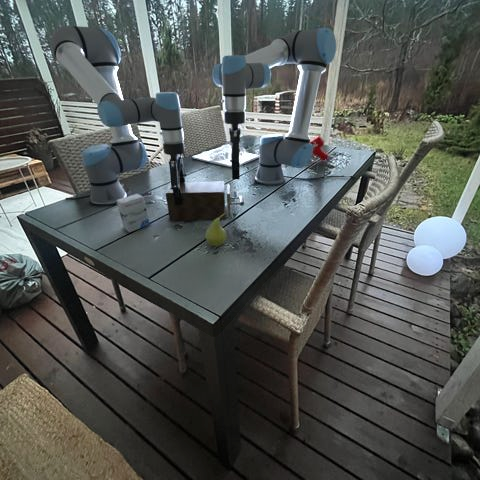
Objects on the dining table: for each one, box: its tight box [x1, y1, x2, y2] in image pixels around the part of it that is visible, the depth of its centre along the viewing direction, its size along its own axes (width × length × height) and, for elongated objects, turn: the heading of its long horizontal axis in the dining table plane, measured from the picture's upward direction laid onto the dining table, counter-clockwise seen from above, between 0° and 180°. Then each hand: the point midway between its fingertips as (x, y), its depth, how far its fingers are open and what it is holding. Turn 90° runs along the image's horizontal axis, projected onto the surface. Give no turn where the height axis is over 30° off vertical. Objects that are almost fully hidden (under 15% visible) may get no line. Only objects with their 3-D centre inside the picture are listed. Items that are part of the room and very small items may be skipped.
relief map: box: [192, 143, 259, 168], centre depth 179 cm, size 27×35×5 cm
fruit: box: [204, 210, 227, 248], centre depth 90 cm, size 7×8×12 cm
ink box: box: [116, 193, 151, 233], centre depth 100 cm, size 8×5×12 cm, turn 135°
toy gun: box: [310, 135, 329, 163], centre depth 172 cm, size 18×4×15 cm
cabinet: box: [165, 180, 226, 222], centre depth 109 cm, size 22×11×12 cm, turn 92°
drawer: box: [226, 183, 245, 218], centre depth 109 cm, size 26×10×10 cm, turn 92°
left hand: (181, 198), depth 108 cm, fingers closed on cabinet, 11 cm apart
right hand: (235, 173), depth 104 cm, fingers open, 10 cm apart
